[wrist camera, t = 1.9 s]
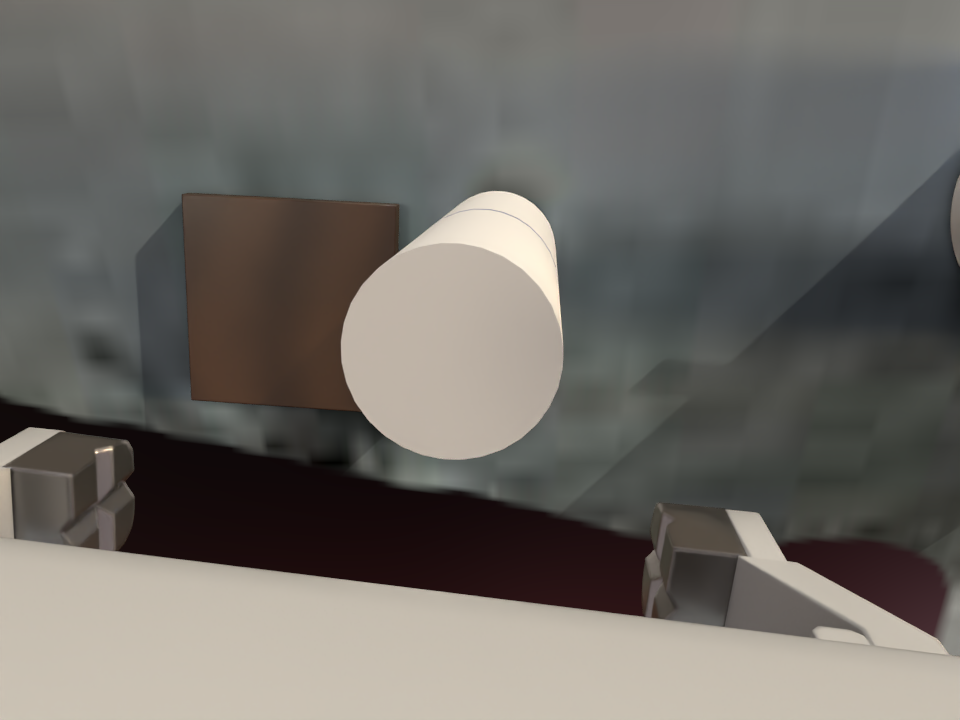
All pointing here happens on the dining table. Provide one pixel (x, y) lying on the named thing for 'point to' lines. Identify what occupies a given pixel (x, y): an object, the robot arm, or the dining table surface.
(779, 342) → the dining table surface
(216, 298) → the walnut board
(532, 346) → the cylindrical container
